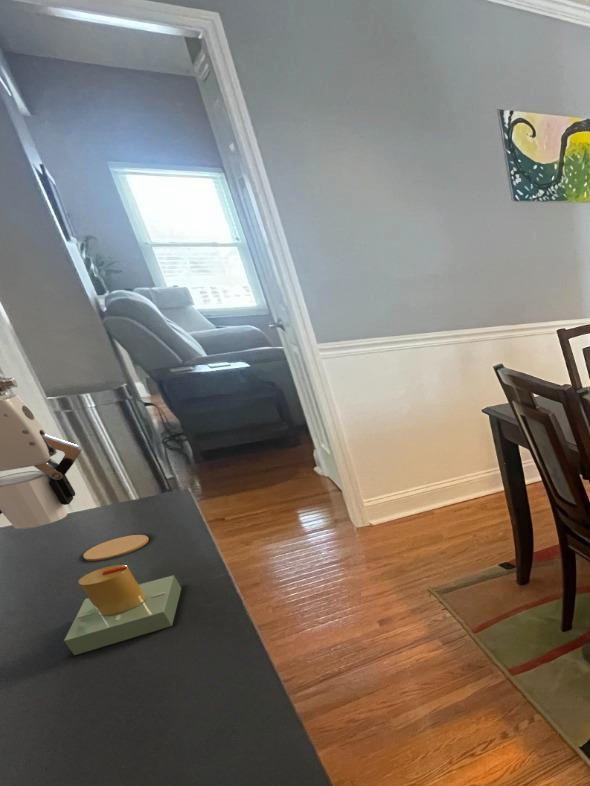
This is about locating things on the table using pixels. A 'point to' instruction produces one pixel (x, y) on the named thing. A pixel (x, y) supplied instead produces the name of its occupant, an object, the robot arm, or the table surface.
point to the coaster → (115, 547)
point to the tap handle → (112, 589)
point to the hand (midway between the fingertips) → (33, 507)
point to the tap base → (125, 618)
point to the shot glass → (29, 500)
